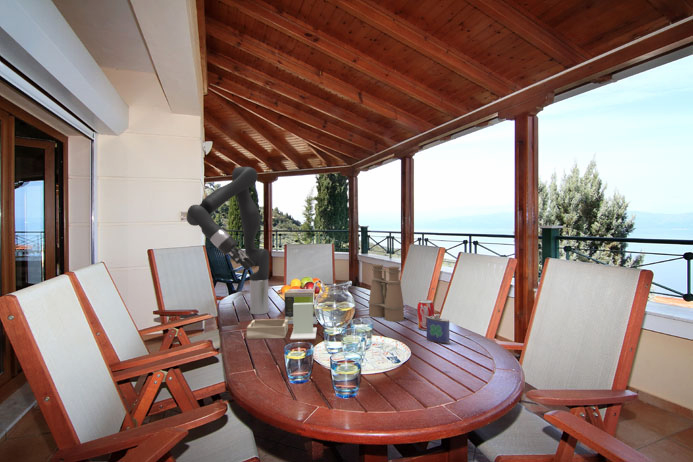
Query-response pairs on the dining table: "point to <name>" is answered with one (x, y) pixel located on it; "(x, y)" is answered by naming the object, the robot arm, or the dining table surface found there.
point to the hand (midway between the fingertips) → (251, 267)
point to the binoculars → (386, 294)
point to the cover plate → (302, 318)
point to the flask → (438, 330)
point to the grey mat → (304, 335)
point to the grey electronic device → (297, 297)
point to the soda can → (424, 313)
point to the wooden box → (267, 328)
